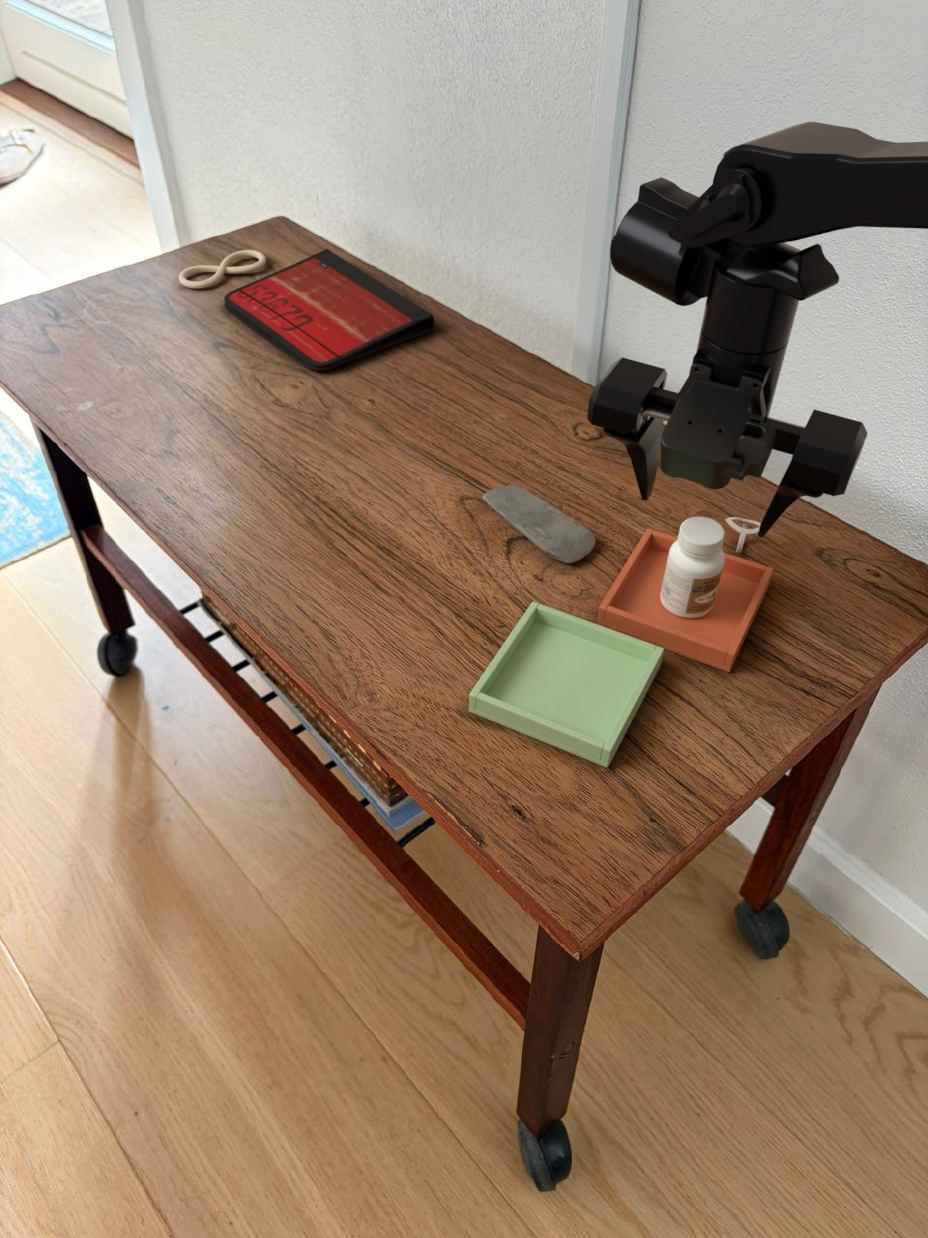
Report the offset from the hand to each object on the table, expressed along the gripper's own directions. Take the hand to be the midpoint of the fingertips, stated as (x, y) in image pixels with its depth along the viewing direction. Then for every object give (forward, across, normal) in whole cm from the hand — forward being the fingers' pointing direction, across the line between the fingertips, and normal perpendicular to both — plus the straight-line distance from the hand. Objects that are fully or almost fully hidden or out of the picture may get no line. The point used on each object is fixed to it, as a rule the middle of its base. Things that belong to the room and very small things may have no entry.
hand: (702, 515), depth 78 cm
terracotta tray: (+9, 0, 0) cm, 9 cm away
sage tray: (+9, -5, -13) cm, 17 cm away
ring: (+10, +2, +9) cm, 13 cm away
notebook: (+10, -52, +26) cm, 59 cm away
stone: (+10, -15, +3) cm, 18 cm away
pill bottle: (+9, 0, 0) cm, 9 cm away
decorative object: (+10, -69, +29) cm, 75 cm away
